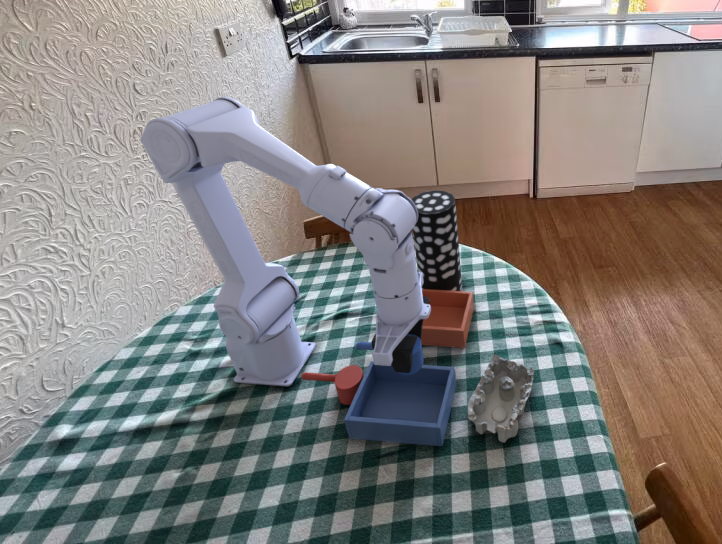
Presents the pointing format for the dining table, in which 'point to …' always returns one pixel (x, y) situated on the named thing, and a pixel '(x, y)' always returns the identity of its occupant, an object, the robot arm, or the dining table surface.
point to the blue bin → (402, 405)
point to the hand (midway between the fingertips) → (408, 356)
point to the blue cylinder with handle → (416, 354)
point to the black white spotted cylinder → (437, 241)
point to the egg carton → (500, 397)
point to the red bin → (447, 318)
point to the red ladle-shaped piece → (341, 381)
